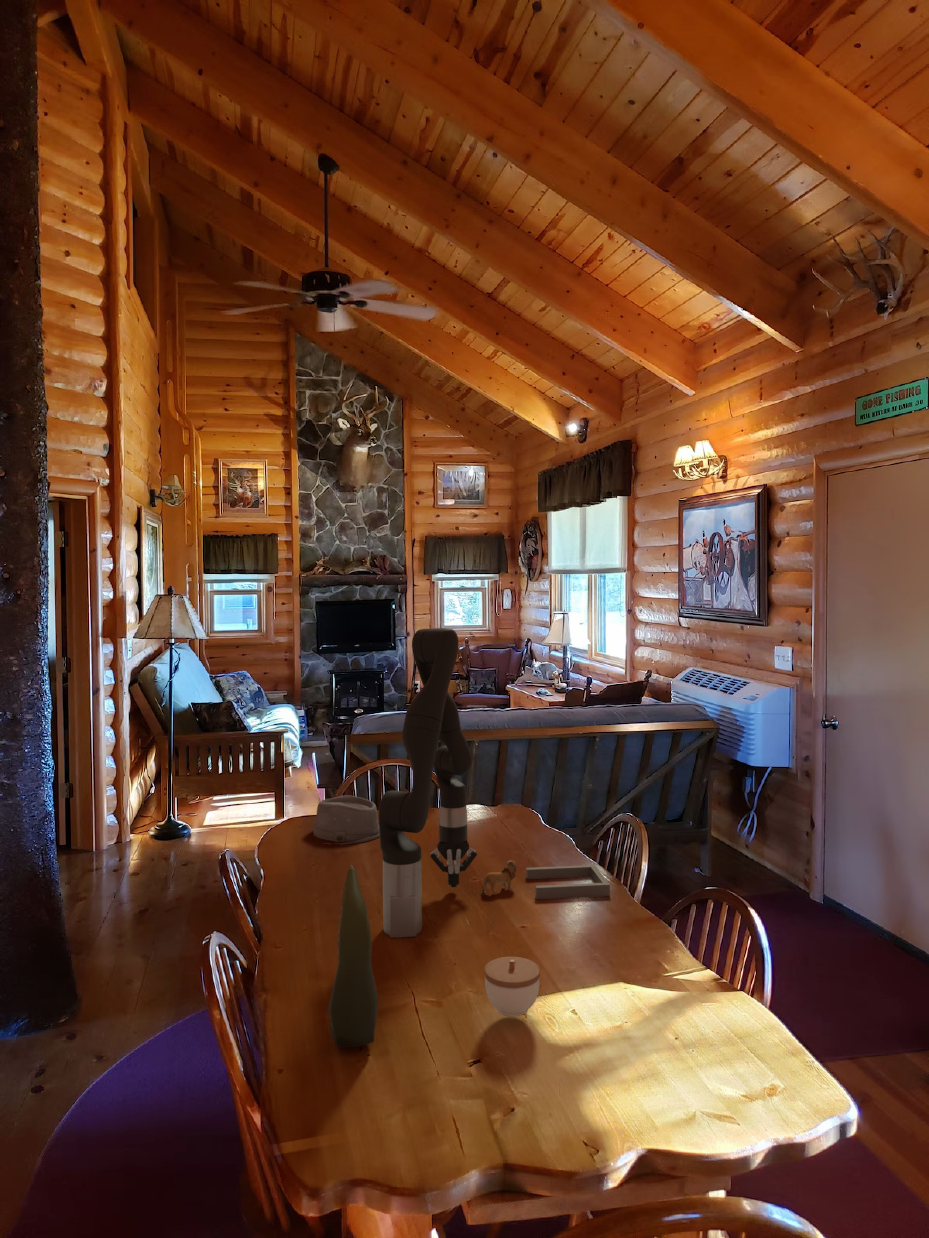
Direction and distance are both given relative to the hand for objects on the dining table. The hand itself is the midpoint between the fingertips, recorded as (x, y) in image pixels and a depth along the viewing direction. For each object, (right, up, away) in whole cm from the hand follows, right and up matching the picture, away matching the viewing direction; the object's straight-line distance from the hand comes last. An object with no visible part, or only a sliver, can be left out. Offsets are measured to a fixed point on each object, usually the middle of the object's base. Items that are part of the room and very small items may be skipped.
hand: (453, 886), depth 214 cm
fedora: (-36, 0, +48) cm, 60 cm away
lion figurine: (+12, -2, +1) cm, 12 cm away
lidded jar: (+12, -4, -59) cm, 60 cm away
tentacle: (-17, -5, -69) cm, 71 cm away
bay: (+30, -1, +3) cm, 30 cm away
